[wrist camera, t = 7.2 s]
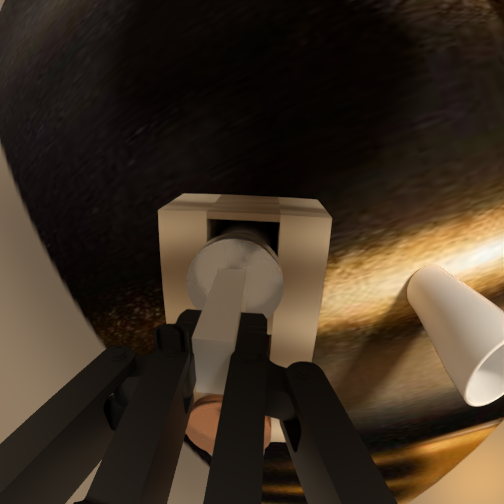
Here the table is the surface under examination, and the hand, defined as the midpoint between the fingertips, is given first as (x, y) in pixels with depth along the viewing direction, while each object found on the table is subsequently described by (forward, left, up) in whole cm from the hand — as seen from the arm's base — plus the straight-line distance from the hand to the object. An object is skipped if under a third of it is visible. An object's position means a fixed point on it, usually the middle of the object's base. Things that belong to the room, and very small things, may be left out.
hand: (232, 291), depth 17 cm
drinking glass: (+5, +19, -13) cm, 23 cm away
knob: (0, 0, -9) cm, 9 cm away
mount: (+9, 0, -12) cm, 15 cm away
